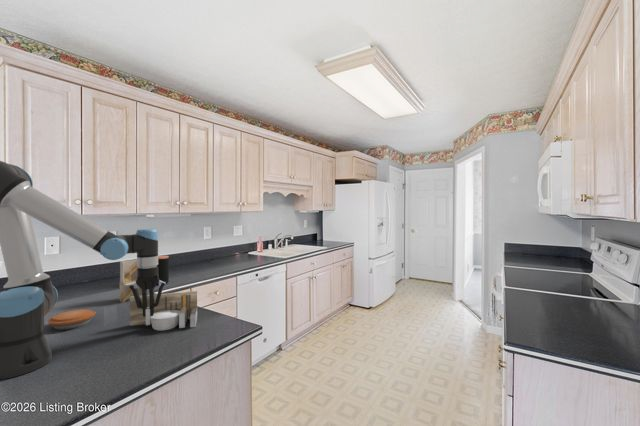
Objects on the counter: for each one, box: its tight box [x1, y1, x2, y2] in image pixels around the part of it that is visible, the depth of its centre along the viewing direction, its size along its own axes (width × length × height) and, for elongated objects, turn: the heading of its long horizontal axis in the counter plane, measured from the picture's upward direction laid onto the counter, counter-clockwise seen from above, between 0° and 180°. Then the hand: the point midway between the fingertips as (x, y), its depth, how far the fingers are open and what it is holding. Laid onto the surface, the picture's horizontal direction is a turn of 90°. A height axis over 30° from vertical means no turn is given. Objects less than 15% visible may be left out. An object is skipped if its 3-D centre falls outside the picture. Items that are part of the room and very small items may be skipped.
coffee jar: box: [156, 255, 170, 286], centre depth 195 cm, size 11×11×18 cm
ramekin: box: [150, 310, 180, 331], centre depth 122 cm, size 11×11×5 cm
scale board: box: [129, 290, 198, 327], centre depth 127 cm, size 1×26×12 cm, turn 110°
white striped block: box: [189, 307, 198, 328], centre depth 125 cm, size 10×2×5 cm, turn 20°
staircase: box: [119, 259, 142, 303], centre depth 159 cm, size 8×12×26 cm
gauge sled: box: [178, 294, 188, 329], centre depth 124 cm, size 10×2×11 cm, turn 20°
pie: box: [47, 308, 96, 331], centre depth 124 cm, size 16×16×5 cm
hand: (148, 323), depth 120 cm, fingers closed
